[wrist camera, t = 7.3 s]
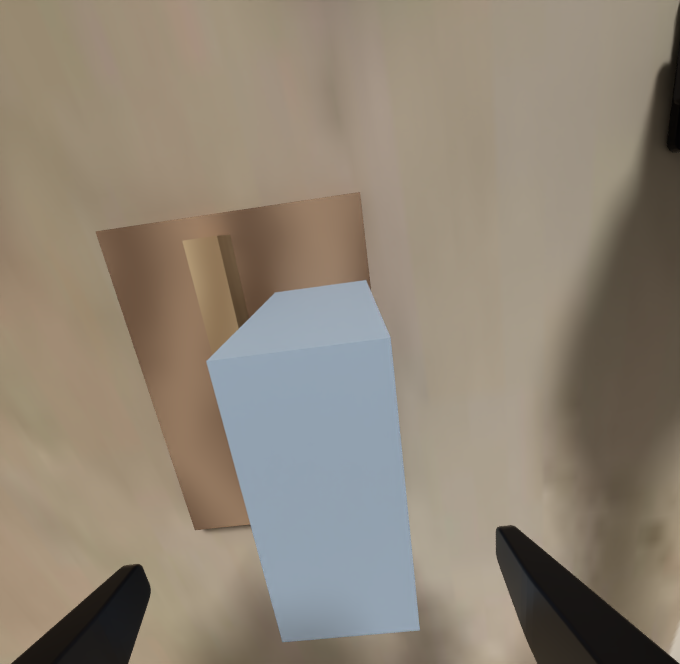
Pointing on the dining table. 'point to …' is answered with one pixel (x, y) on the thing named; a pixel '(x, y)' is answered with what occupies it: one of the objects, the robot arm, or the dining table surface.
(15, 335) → the dining table surface
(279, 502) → the blue block
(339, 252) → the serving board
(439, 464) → the dining table surface
